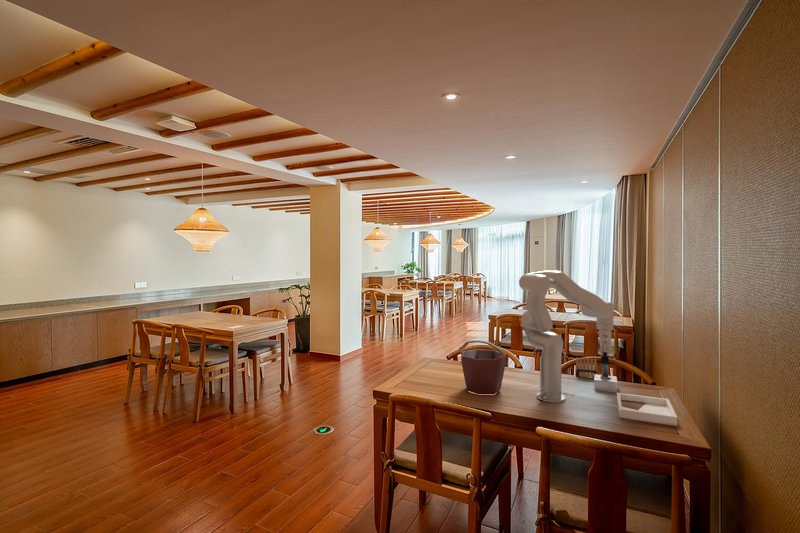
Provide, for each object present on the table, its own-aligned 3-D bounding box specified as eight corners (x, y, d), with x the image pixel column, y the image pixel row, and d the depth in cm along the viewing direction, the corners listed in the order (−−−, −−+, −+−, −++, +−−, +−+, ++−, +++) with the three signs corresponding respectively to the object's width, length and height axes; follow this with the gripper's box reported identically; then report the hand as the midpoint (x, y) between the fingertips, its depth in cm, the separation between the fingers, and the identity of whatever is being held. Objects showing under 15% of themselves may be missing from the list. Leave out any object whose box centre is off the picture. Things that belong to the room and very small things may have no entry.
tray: (677, 426, 155) (677, 417, 155) (619, 417, 164) (619, 409, 164) (668, 406, 174) (668, 398, 174) (616, 400, 183) (616, 392, 183)
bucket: (450, 389, 203) (449, 341, 202) (477, 380, 217) (476, 335, 217) (489, 401, 184) (489, 348, 184) (516, 390, 199) (515, 341, 198)
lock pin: (607, 377, 195) (607, 353, 195) (600, 376, 197) (600, 352, 197) (609, 376, 197) (609, 352, 197) (602, 374, 199) (602, 351, 199)
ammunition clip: (575, 378, 217) (575, 356, 217) (575, 377, 219) (575, 355, 219) (597, 380, 213) (597, 358, 213) (597, 379, 215) (597, 357, 214)
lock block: (617, 394, 191) (617, 382, 191) (594, 391, 195) (594, 379, 195) (616, 388, 200) (616, 376, 200) (594, 385, 204) (594, 374, 204)
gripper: (614, 329, 188) (613, 368, 188) (612, 324, 202) (612, 360, 203) (596, 328, 191) (596, 366, 191) (596, 323, 206) (596, 358, 206)
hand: (604, 362), depth 197 cm, fingers closed on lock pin, 3 cm apart
